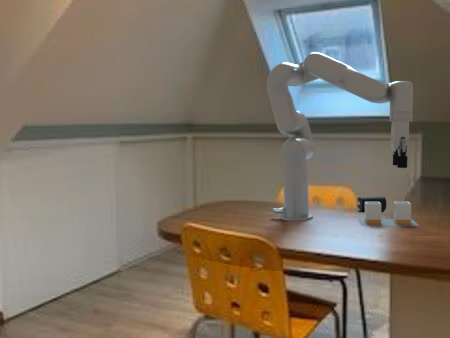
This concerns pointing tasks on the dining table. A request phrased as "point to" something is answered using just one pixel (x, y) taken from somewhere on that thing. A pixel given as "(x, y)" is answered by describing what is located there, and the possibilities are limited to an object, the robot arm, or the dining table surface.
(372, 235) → the dining table surface
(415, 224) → the pin board
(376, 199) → the end cap
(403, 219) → the sleeve
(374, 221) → the seated sleeve
